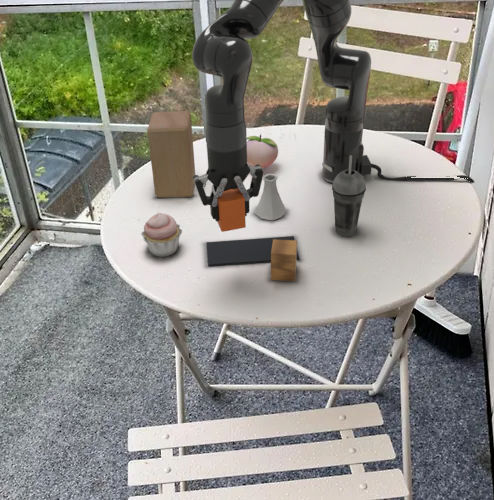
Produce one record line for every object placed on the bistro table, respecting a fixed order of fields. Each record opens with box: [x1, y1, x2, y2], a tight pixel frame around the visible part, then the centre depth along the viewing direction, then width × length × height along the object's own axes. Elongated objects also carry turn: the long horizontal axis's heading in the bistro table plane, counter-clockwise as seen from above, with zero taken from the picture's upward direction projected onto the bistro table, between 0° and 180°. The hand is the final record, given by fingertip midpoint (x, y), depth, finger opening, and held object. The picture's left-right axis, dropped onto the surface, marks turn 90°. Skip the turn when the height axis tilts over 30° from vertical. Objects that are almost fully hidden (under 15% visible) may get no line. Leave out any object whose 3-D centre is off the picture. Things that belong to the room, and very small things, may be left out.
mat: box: [206, 235, 301, 267], centre depth 147 cm, size 20×8×1 cm, turn 90°
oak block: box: [270, 239, 298, 282], centre depth 138 cm, size 5×5×7 cm
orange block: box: [216, 188, 247, 233], centre depth 131 cm, size 5×5×7 cm
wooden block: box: [146, 110, 196, 198], centre depth 167 cm, size 10×10×20 cm
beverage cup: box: [331, 155, 367, 238], centre depth 145 cm, size 7×7×20 cm
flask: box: [254, 173, 287, 221], centre depth 156 cm, size 7×7×10 cm
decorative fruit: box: [247, 134, 279, 169], centre depth 174 cm, size 9×8×10 cm
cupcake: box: [140, 211, 183, 258], centre depth 148 cm, size 9×9×10 cm
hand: (230, 216), depth 133 cm, fingers closed on orange block, 5 cm apart
